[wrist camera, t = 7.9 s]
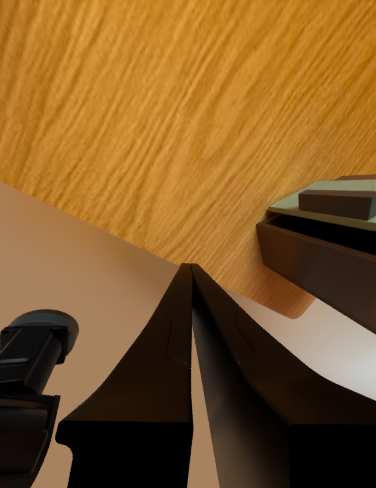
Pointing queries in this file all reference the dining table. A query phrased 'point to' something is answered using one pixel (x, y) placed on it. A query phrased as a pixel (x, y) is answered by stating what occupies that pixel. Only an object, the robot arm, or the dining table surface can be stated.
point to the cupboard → (325, 260)
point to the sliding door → (334, 203)
